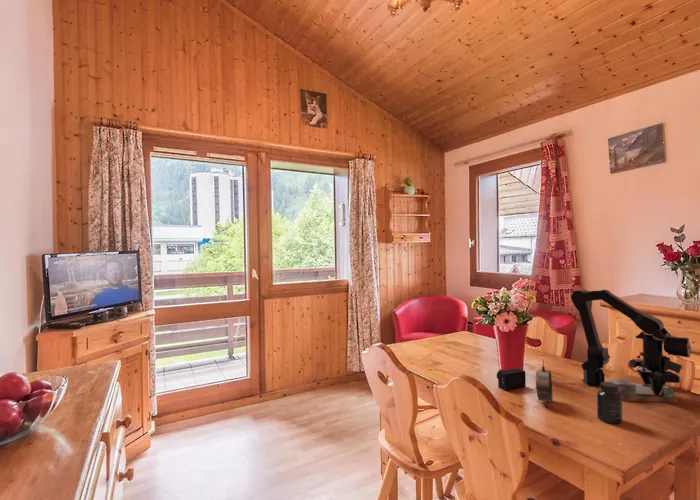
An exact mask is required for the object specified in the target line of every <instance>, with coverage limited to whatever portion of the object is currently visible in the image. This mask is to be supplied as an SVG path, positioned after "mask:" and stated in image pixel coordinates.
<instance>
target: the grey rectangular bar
mask: <svg viewBox="0 0 700 500" xmlns="http://www.w3.org/2000/svg"><path fill="white" fill-rule="evenodd" d="M634 384H635V385H636V394H651V395H655V393H654V391H653V388H652V385H651V384H644V383H634ZM669 387H670V386H668V385H663V387H662V389H661V392H660V394H659V395H664V392H663V389H670V388H671V387H670V388H669Z"/></svg>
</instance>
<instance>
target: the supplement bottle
mask: <svg viewBox="0 0 700 500" xmlns="http://www.w3.org/2000/svg"><path fill="white" fill-rule="evenodd" d="M596 416H597V418H598V419H599V420H600V421H601V422H603V423H605V424H607V425H608V424H609V425H615V426H617V425H618V426H619V425H621V424H622V423H623V400H622V397H621V395H620V394H619V393H618V385H616V384H614V383H611V382H609V381H605V382H600V386H599V390H597V392H596Z"/></svg>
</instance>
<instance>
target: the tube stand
mask: <svg viewBox="0 0 700 500" xmlns="http://www.w3.org/2000/svg"><path fill="white" fill-rule="evenodd" d="M608 382H611V383H614V384H616V385H618V393H619V394H620V395H621V397H622V401H632V402H635V401H636V402H653V401H654V402H658V403H660V402H661V403H675V404H676V403H677V402H678V401H677V398H676V397H675V389H674V388H672V387H670V386H668V387H669V388H670V389H663V392H664V395H651V394H636V385H635V384H636V383H633V382H632V381H630V380H628V379H608Z"/></svg>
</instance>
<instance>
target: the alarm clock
mask: <svg viewBox="0 0 700 500" xmlns="http://www.w3.org/2000/svg"><path fill="white" fill-rule="evenodd" d="M544 365H545V359H544V358H543V359H542V366H541V368H542V369H538V370H537V371H536V374H535V389H536V395H537V401H542V402H545V408H547V409H548V403H552V402H553V382H552V373H551V370H548V369H547V370H546V369H545V366H544Z"/></svg>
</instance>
